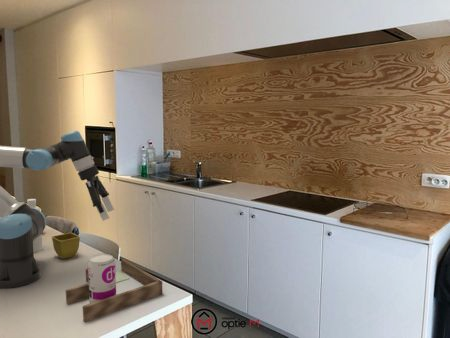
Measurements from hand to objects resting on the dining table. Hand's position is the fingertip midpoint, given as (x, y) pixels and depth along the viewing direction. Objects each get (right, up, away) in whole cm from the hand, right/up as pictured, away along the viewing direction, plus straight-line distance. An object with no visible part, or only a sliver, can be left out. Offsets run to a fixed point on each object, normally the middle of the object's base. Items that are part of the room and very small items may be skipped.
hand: (108, 214), depth 152 cm
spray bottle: (-39, -18, +15) cm, 45 cm away
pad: (+6, -22, -15) cm, 27 cm away
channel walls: (+8, -23, -26) cm, 36 cm away
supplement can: (+9, -24, -33) cm, 42 cm away
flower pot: (-21, -19, +7) cm, 29 cm away
